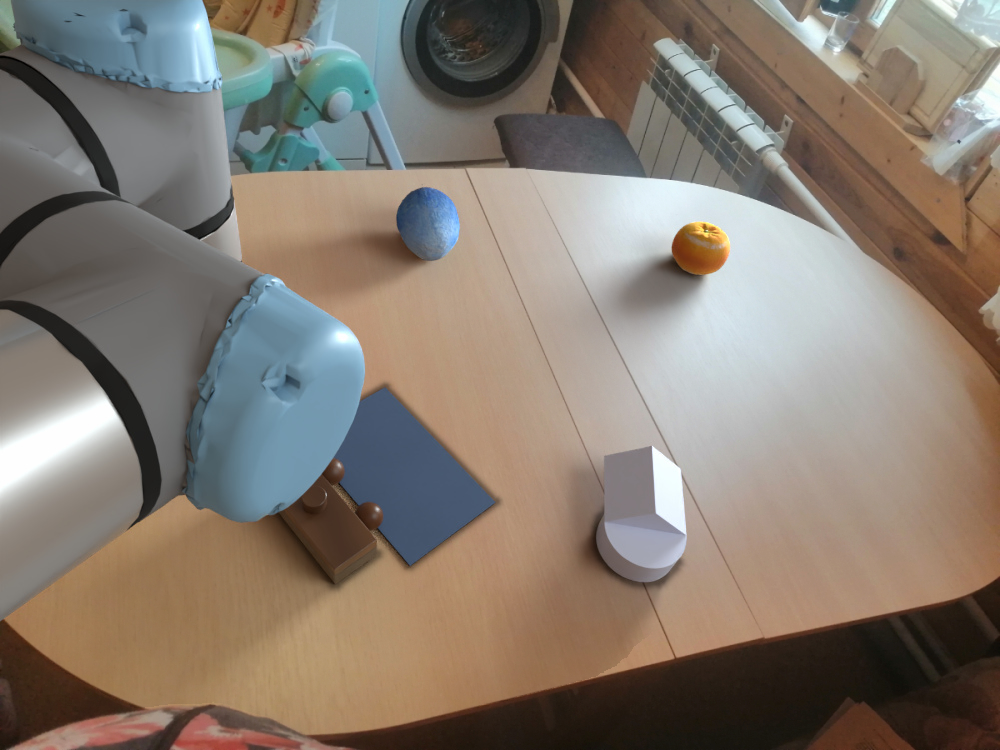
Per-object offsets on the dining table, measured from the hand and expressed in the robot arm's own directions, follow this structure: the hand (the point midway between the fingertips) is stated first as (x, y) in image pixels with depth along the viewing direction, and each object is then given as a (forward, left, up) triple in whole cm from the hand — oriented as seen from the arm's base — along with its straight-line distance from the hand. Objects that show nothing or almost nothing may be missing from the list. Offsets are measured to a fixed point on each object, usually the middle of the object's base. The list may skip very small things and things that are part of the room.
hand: (222, 484), depth 59 cm
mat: (+19, 0, -16) cm, 25 cm away
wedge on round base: (+35, -22, -16) cm, 44 cm away
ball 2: (+12, -3, -14) cm, 19 cm away
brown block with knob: (+8, 0, -16) cm, 18 cm away
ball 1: (+12, +3, -14) cm, 19 cm away
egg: (+46, +29, -16) cm, 57 cm away
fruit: (+78, +2, -16) cm, 80 cm away
